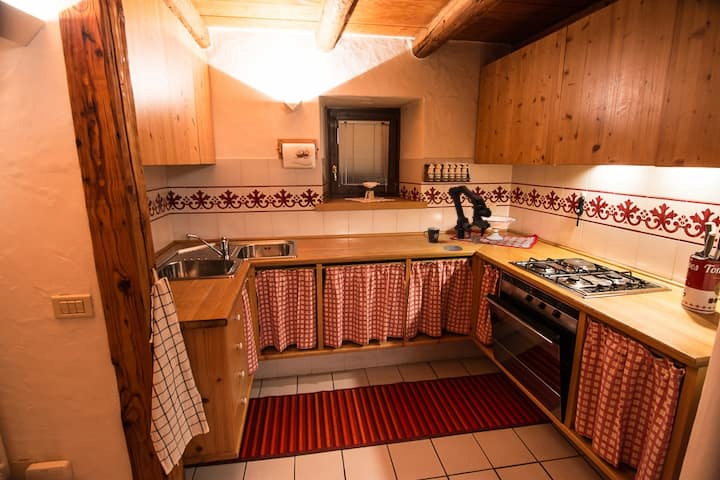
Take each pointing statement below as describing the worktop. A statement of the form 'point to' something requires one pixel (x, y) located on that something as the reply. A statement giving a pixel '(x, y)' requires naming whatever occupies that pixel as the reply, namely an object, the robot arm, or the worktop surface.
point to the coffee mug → (433, 234)
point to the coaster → (452, 248)
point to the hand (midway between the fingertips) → (475, 237)
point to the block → (475, 239)
